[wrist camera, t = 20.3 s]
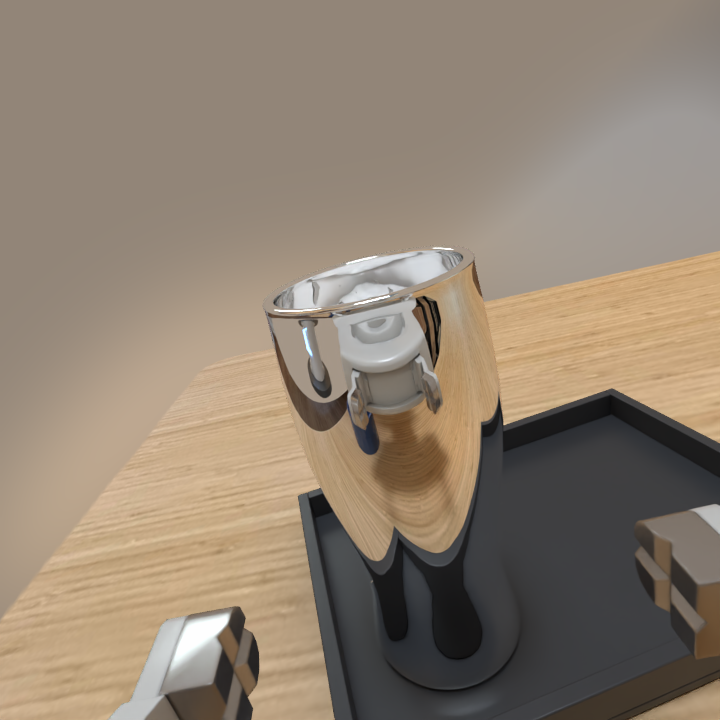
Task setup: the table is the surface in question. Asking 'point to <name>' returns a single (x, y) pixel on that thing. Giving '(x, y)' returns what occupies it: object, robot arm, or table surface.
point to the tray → (544, 575)
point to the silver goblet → (407, 448)
